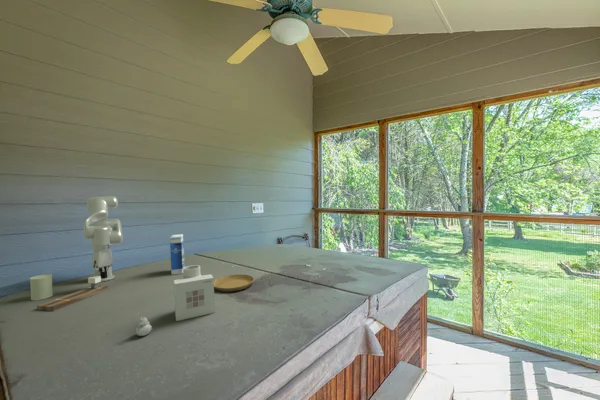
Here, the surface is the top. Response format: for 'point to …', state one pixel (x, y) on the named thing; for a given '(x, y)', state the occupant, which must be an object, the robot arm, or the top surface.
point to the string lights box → (177, 254)
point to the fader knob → (94, 281)
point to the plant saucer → (233, 282)
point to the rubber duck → (143, 327)
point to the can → (41, 287)
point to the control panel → (193, 294)
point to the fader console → (71, 298)
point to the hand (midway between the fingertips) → (103, 278)
